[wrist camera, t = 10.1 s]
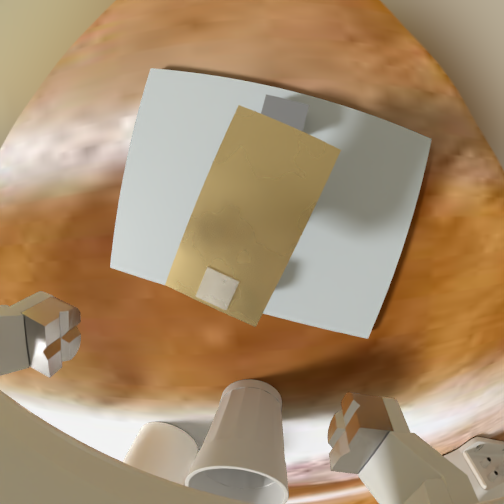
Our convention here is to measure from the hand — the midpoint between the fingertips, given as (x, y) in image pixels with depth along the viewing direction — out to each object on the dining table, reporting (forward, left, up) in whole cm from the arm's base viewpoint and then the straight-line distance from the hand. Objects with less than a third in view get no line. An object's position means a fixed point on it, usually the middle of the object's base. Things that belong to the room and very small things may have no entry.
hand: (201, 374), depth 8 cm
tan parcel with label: (0, -3, -11) cm, 12 cm away
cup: (-4, +17, -19) cm, 25 cm away
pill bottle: (+4, +28, -19) cm, 34 cm away
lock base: (0, -3, -19) cm, 19 cm away
